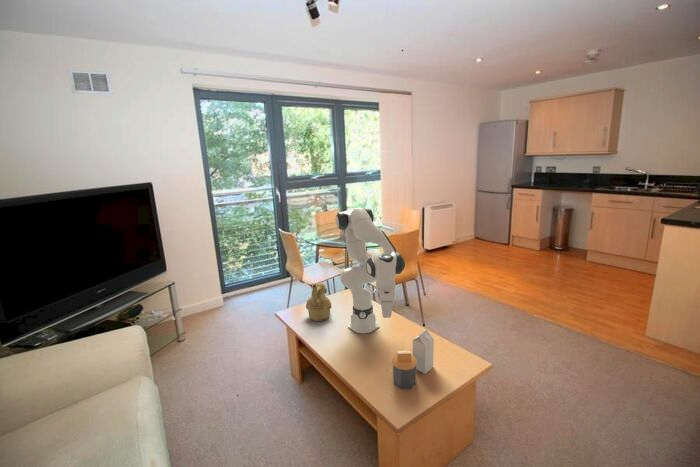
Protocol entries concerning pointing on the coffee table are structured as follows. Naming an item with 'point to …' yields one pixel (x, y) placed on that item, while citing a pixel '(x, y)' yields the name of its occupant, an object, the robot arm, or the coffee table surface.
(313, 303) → the ceramic vessel
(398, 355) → the orange cap
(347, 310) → the coffee table surface
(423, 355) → the milk carton
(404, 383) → the graphite tube
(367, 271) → the robot arm
